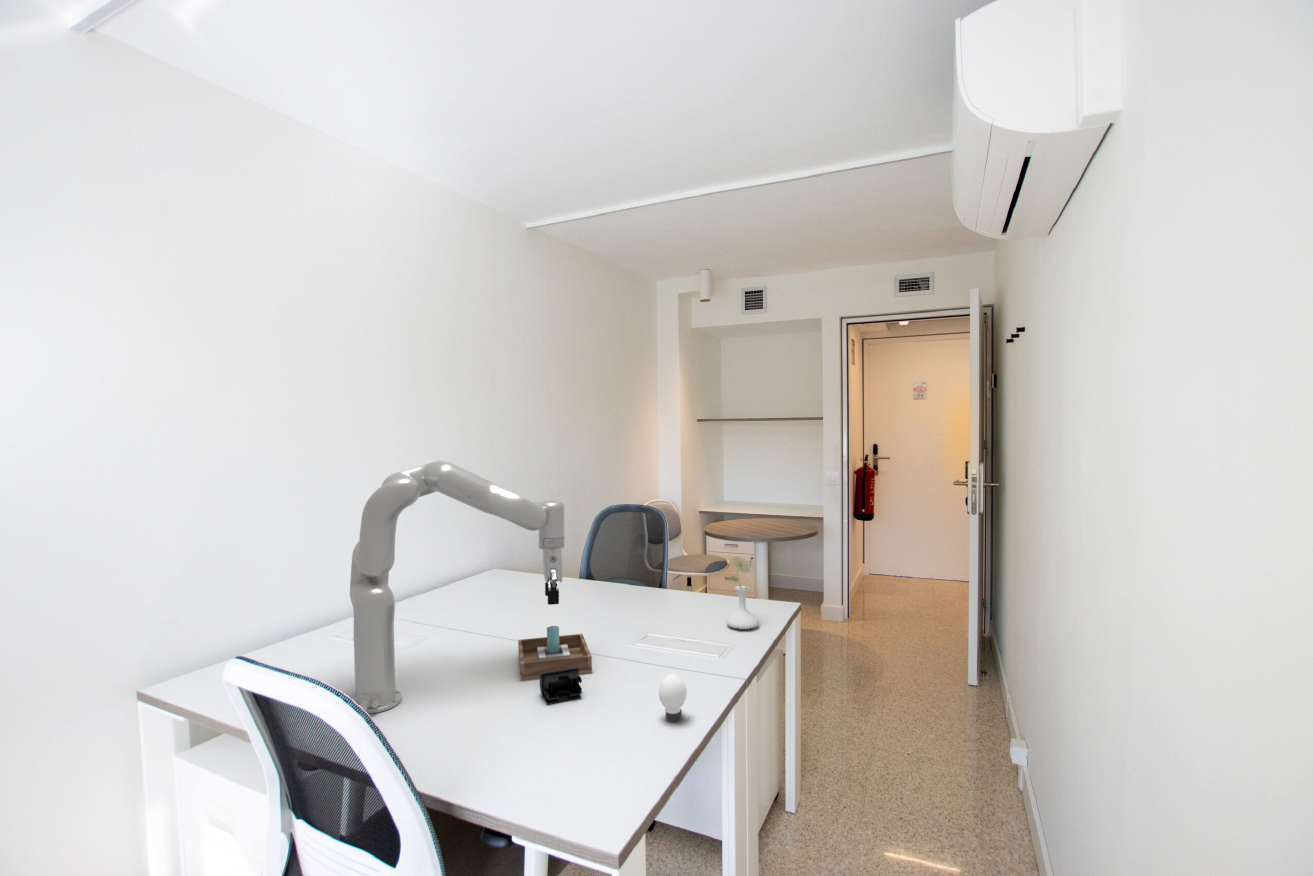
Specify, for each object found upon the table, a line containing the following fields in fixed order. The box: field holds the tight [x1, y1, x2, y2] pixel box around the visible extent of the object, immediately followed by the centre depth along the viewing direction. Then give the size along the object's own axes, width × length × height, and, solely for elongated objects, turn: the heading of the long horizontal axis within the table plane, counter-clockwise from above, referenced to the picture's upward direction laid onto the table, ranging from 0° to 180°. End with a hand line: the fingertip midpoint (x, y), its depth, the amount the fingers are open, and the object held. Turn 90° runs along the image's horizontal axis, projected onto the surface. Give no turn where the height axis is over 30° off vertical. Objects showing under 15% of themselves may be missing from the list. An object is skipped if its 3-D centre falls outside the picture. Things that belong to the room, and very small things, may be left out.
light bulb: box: [658, 672, 687, 723], centre depth 152 cm, size 7×7×11 cm
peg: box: [546, 625, 560, 655], centre depth 188 cm, size 4×4×10 cm
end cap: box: [539, 667, 583, 706], centre depth 165 cm, size 10×7×7 cm
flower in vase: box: [725, 554, 760, 630], centre depth 220 cm, size 13×11×25 cm
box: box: [517, 633, 593, 682], centre depth 188 cm, size 20×20×5 cm
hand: (551, 599), depth 187 cm, fingers open, 9 cm apart
